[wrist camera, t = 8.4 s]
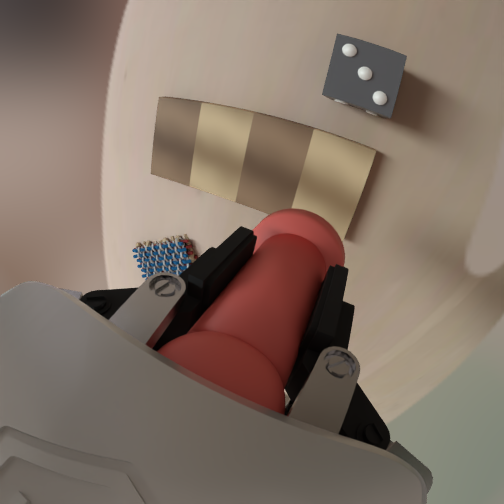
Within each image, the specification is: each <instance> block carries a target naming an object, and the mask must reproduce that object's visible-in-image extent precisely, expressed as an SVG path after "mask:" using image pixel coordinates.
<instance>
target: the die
mask: <svg viewBox="0 0 504 504" xmlns="http://www.w3.org/2000/svg"><path fill="white" fill-rule="evenodd" d="M406 57H407V56H406V55H403V54H401V53H398V52H395V51H393V50H390V49H387V48H384V47H381V46H378V45H375V44H372V43H369V42H366V41H363V40H359V39H356V38H352V37H348V36H345V35H341V34H337V36H336V40H335V45H334V49H333V53H332V57H331V61H330V65H329V69H328V73H327V77H326V81H325V85H324V89H323V93H322V95H324V96H326V97H328V98H329V99H332V100H335V101H336V102H339V103H343V104H346V105H351V106H354V107H357V108H360V109H362V110H365V111H366V112H367V113H369V114H372V115H375V116H377V115H379V116H381V117H384V118H391V116H392V112H393V109H394V105H395V101H396V98H397V94H398V90H399V86H400V82H401V78H402V74H403V70H404V66H405V61H406Z"/></svg>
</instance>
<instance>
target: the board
mask: <svg viewBox="0 0 504 504" xmlns="http://www.w3.org/2000/svg"><path fill="white" fill-rule="evenodd" d="M375 154H376V150H375V149H373V148H370V147H368V146H365V145H363V144H360V143H357V142H355V141H352V140H349V139H346V138H344V137H341V136H338V135H335V134H332V133H329V132H326V131H323V130H320V129H317V128H313V127H310V126H307V125H303V124H300V123H297V122H293V121H289V120H286V119H282V118H278V117H274V116H270V115H266V114H262V113H258V112H254V111H249V110H245V109H240V108H235V107H230V106H225V105H219V104H214V103H208V102H202V101H195V100H188V99H181V98H173V97H159V100H158V107H157V115H156V123H155V132H154V141H153V152H152V164H151V174H153V175H156V176H159V177H162V178H165V179H169V180H172V181H175V182H178V183H181V184H184V185H187V186H190V187H193V188H196V189H199V190H202V191H205V192H208V193H211V194H214V195H217V196H219V197H222V198H225V199H228V200H231V201H234V202H237V203H239V204H242V205H245V206H248V207H251V208H253V209H256V210H259V211H262V212H264V213H267V214H272V213H273V212H276V211H279V210H283V209H290V208H295V209H303V210H307V211H310V212H313V213H315V214H317V215H319V216H321V217H322V218H324V219H325V220H326V221H328V222H329V223H330V224H331V225H332V226H333V227H334V229H335V230H336V231H337V233H338V235H339V236H340V238H341V241H342V242H343V240H344V237H345V235H346V232H347V230H348V227H349V225H350V222H351V220H352V217H353V215H354V212H355V210H356V207H357V204H358V202H359V199H360V196H361V194H362V191H363V188H364V185H365V183H366V180H367V177H368V174H369V171H370V168H371V166H372V163H373V160H374V157H375Z"/></svg>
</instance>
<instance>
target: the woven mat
mask: <svg viewBox="0 0 504 504" xmlns="http://www.w3.org/2000/svg"><path fill="white" fill-rule="evenodd" d="M184 237H185V239H183V238H180V236H176V238H175V239H174V236H171V240H172V242H169V240H168V239H167V238H164V239H163V240H161V241H159V242H160V244H159V243H157V241H156V242H154V244H153V243H152V244H151V242H150V241H147V243H146V242H145V241H144V242H143V243H144V246H143V247H142V246H141V244H140V243H137V244H136V248H134V249H133V250H132V251H133V252H136V253H138V254H137V255H134V256H133V257H134V258H137V257H139V259H137V262H140V264H141V265H138V268H141V267H143V268H142V269H141V271H142V272H145V273H146V274H144V275H142V277H143V278H144V277H147V278H146V280H147V279H148V278H149V277H150V276H151V275H154V274H156V273H161V272H167V273H172V274H176V275H177V276H179V275H180V274H181V273H182V272H183V271H184V270H185V269H187V268H188V267H189V266H190V265H191V264H192V263H193V262H194V261H196V260H197V256H196V255H194V254H195V253H194V251H193V249H192V244H191V243H190V240H189V238H188V236H187V234H184ZM185 243H187V245H186V246H184V245H185ZM167 247H168V248H167ZM155 249H157V250H155ZM187 249H189V251H188V252H187ZM145 251H146V252H145ZM169 253H170V254H169ZM188 255H189V256H188ZM146 256H148V257H146ZM184 257H185V258H184ZM173 264H174V265H173Z"/></svg>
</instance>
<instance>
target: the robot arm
mask: <svg viewBox="0 0 504 504" xmlns="http://www.w3.org/2000/svg"><path fill="white" fill-rule="evenodd" d="M256 240H257V236H256V235H254V231H252V230H250V229H247V228H244V227H242V226H241V227H239V228H238V229H237V230H236V231H235V232H234V233H233V234H232V235H231V236H229V237H228V238H227V239H226V240H225V241H224V242H223V243H222V244H221V245H219V246H218V247H217V248H214V247H211V248H209V249H208V250H207V251H206V252H205V253H204V254H202V255H201V256H200V257H199V258H198V259H197V260H196V261H194V262H193V263H192V264H191V265H190V266H189V267H188V268H187V269H185V270H184V271H183V272H182V273H181V274H180V275H179V276H177V275H176V274H172V273H167V272H161V273H156V274H154V275H151V276H150V277H149V278H148V279H147V280H146V281H145V282H144V283H143V284H142V285H141V286H140V287H139V288H127V289H112V290H97V291H91V292H89V293H86V294H85V295H84V296H83V295H82V292H77V291H71V290H66V289H60V288H57V287H54V286H52V285H48V284H45V283H41V282H34V281H29V282H24V283H21V284H19V285H17V286H15V287H13V288H12V289H10V290H8V291H7V292H5V293H4V294H2V295H1V296H0V504H426V503H427V493H428V492H429V490H430V488H431V486H432V480H433V477H432V473H431V471H430V470H429V469H428V468H427V467H426V466H425V465H424V464H423V463H421V462H420V461H419V460H418V459H417V458H416V457H414V456H413V455H412V454H411V453H410V452H409V451H407V450H406V449H405V448H404V447H403V446H402V445H401V444H399V443H398V442H397V441H395V442H394V443H393V442H392V441H391V440H390V433H389V430H388V428H387V426H386V425H385V423H384V422H383V420H382V419H381V417H380V416H379V414H378V413H377V411H376V410H375V408H374V407H373V405H372V404H371V402H370V401H369V399H368V398H367V396H366V395H365V394H364V392H363V391H362V389H361V388H360V386H359V385H358V383H357V380H358V377H359V374H360V365H359V362H358V360H357V358H356V357H355V356H354V355H353V354H352V353H351V352H350V351H348V344H349V339H350V333H351V327H352V321H353V315H354V307H355V306H354V305H352V304H349V303H347V302H344V301H343V296H344V291H345V286H346V281H347V275H348V268H345V267H343V266H340V265H338V264H336V265H335V267H333V266H331V265H330V266H329V269H328V271H327V273H326V275H325V278H324V280H323V282H322V285H321V288H320V291H319V294H318V297H317V300H316V303H315V306H314V309H313V311H312V314H311V317H310V320H309V323H308V325H307V328H306V331H305V334H304V336H303V339H302V342H301V344H300V347H299V350H298V356H297V359H296V361H295V364H294V366H293V369H292V371H291V374H290V376H289V379H288V381H287V384H286V386H285V390H286V392H287V394H288V396H289V397H290V399H289V401H288V403H287V405H286V406H285V413H284V415H283V414H281V413H278V412H276V411H273V410H271V409H268V408H266V407H264V406H261V405H259V404H257V403H254V402H252V401H250V400H248V399H246V398H243V397H241V396H239V395H237V394H235V393H233V392H231V391H228V390H226V389H224V388H222V387H220V386H218V385H216V384H214V383H212V382H210V381H208V380H206V379H204V378H203V377H201V376H199V375H197V374H195V373H193V372H191V371H189V370H188V369H186V368H184V367H182V366H180V365H179V364H177V363H175V362H173V361H172V360H170V359H168V358H167V357H165V356H163V355H161V354H160V353H158V352H157V351H158V350H159V349H160V348H161V347H162V346H164V345H165V344H167V343H168V342H170V341H172V340H174V339H176V338H178V337H180V336H183V335H186V334H187V333H188V332H189V330H190V329H191V328H192V327H193V326H194V324H195V323H196V322H197V321H198V320H199V318H200V317H201V316H202V315H203V314H204V312H205V311H206V310H207V309H208V308H209V307H210V305H211V304H212V303H213V302H214V301H215V299H216V298H217V297H218V296H219V295H220V293H221V292H222V291H223V290H224V289H225V287H226V286H227V285H228V284H229V283H230V281H231V280H232V279H233V278H234V277H235V275H236V274H237V273H238V272H239V271H240V269H241V268H242V267H243V266H244V265H245V263H246V262H247V261H248V260H249V259H250V257H251V256H252V255H253V252H254V248H255V244H256Z"/></svg>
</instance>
